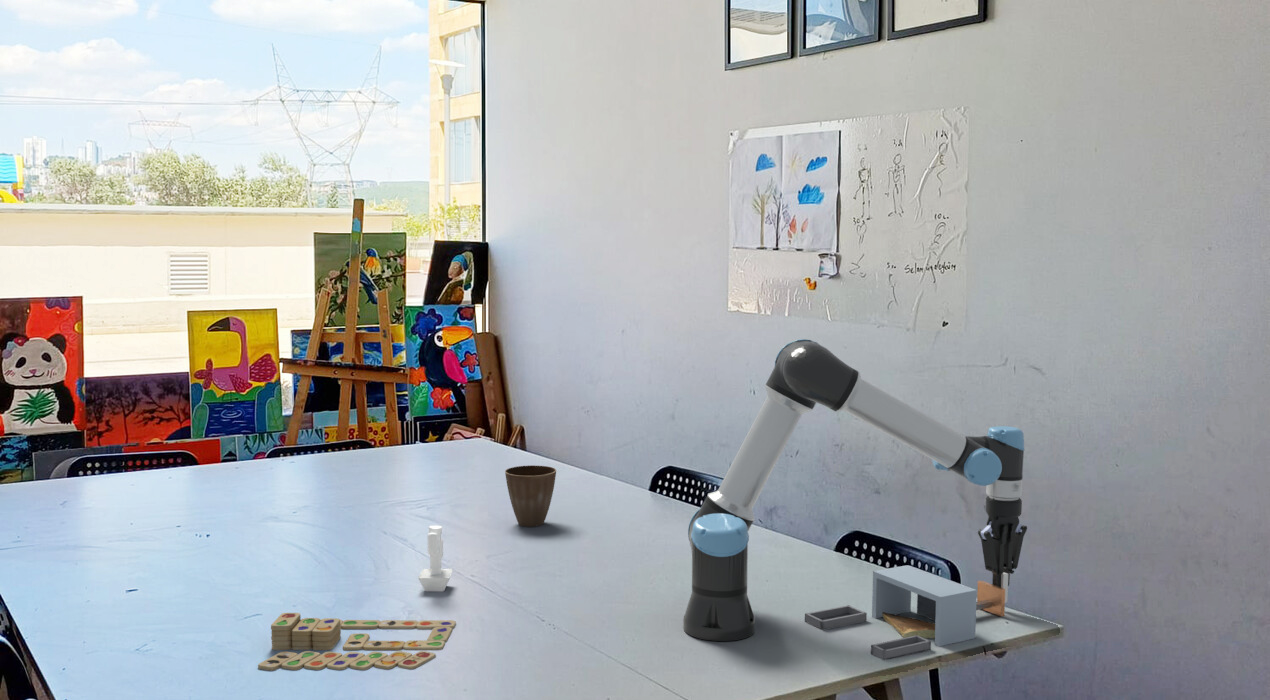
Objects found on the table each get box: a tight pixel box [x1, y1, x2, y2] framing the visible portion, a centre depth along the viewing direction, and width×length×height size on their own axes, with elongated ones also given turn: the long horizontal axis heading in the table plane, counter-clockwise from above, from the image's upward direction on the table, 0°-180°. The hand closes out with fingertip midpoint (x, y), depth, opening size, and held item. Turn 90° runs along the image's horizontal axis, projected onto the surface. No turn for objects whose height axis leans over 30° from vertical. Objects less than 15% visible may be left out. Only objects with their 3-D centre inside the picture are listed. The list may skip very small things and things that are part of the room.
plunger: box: [916, 580, 1006, 622], centre depth 237 cm, size 16×14×6 cm
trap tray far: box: [804, 604, 868, 631], centre depth 235 cm, size 12×6×2 cm, turn 118°
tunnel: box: [871, 565, 978, 647], centre depth 231 cm, size 10×20×10 cm, turn 28°
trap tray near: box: [870, 635, 932, 661], centre depth 217 cm, size 12×4×2 cm, turn 118°
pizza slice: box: [882, 612, 935, 639], centre depth 231 cm, size 13×9×2 cm
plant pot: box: [504, 464, 557, 528], centre depth 318 cm, size 15×15×16 cm
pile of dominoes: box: [257, 612, 457, 672], centre depth 219 cm, size 35×27×6 cm
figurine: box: [417, 525, 454, 592], centre depth 256 cm, size 7×9×15 cm
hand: (1000, 601), depth 242 cm, fingers closed
